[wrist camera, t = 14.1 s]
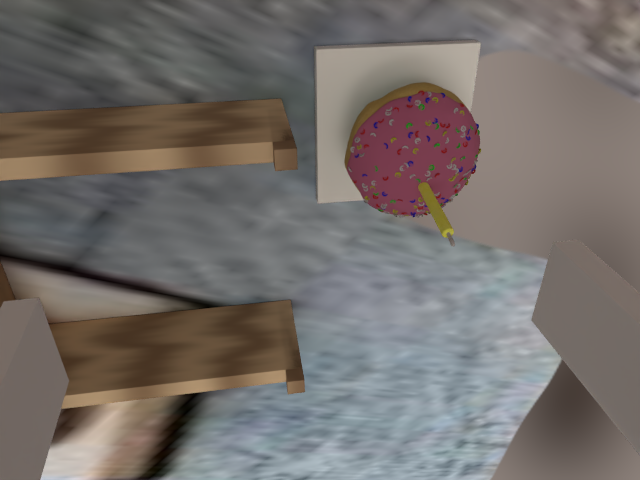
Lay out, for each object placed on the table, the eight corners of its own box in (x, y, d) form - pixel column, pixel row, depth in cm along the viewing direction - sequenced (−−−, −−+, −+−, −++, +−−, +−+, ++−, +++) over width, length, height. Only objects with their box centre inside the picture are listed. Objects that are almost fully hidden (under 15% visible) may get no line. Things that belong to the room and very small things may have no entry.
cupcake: (452, 172, 39) (528, 263, 29) (341, 193, 39) (379, 293, 29) (452, 55, 35) (542, 115, 25) (326, 79, 34) (364, 149, 24)
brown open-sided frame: (14, 339, 42) (-33, 434, 34) (-78, 117, 33) (-172, 178, 25) (290, 310, 45) (304, 392, 37) (281, 98, 35) (296, 148, 28)
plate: (316, 197, 40) (317, 203, 39) (314, 46, 34) (316, 49, 33) (454, 187, 41) (459, 192, 40) (474, 39, 35) (480, 42, 35)
